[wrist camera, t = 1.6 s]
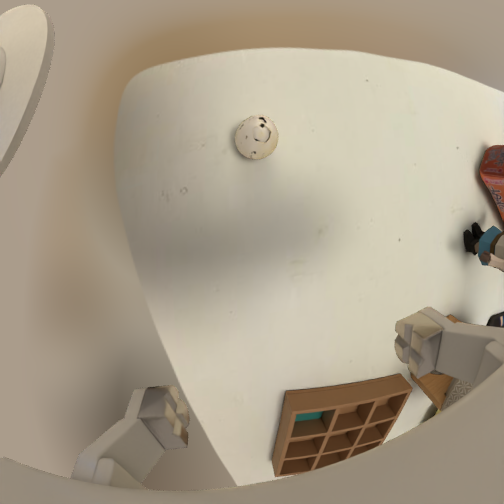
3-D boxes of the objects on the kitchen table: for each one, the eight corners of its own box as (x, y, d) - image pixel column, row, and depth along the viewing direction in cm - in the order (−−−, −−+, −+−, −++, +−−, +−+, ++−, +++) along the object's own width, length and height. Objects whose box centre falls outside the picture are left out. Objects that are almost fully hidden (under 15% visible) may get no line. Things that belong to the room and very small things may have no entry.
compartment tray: (285, 390, 28) (292, 411, 24) (400, 373, 29) (413, 388, 26) (271, 459, 31) (274, 477, 28) (366, 443, 33) (373, 457, 30)
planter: (468, 357, 31) (531, 414, 14) (410, 399, 31) (468, 477, 14) (475, 294, 28) (563, 350, 11) (410, 340, 28) (499, 431, 11)
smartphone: (492, 317, 29) (525, 305, 30) (490, 316, 30) (523, 304, 31) (478, 355, 31) (513, 338, 32) (476, 353, 31) (511, 336, 33)
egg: (228, 153, 21) (229, 144, 16) (242, 118, 20) (247, 100, 15) (264, 166, 21) (276, 162, 17) (278, 131, 21) (293, 118, 16)
